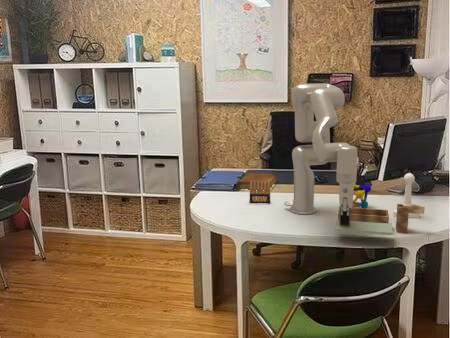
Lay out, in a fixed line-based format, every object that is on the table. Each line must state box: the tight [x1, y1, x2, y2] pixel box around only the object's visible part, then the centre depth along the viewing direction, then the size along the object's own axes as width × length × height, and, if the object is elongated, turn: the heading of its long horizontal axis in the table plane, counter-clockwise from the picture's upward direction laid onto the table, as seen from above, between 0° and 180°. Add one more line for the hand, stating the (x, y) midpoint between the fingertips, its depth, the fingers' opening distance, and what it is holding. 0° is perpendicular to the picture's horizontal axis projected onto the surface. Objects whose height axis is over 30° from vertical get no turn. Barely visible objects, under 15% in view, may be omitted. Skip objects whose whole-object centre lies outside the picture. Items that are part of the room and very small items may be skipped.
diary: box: [236, 172, 278, 190], centre depth 265 cm, size 23×19×6 cm
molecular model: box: [353, 182, 372, 209], centre depth 218 cm, size 15×12×15 cm
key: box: [402, 203, 426, 215], centre depth 184 cm, size 8×2×3 cm, turn 73°
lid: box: [334, 208, 394, 236], centre depth 176 cm, size 21×11×7 cm, turn 73°
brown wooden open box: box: [337, 203, 409, 234], centre depth 189 cm, size 28×10×11 cm, turn 73°
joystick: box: [392, 172, 421, 219], centre depth 205 cm, size 11×8×20 cm
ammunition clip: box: [249, 181, 271, 204], centre depth 229 cm, size 11×2×12 cm, turn 84°
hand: (344, 222), depth 178 cm, fingers closed on lid, 4 cm apart
